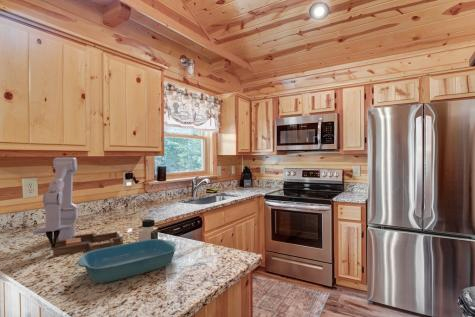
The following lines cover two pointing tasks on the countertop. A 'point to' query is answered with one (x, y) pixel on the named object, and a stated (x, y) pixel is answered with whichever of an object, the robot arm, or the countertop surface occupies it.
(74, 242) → the block
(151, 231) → the medicine bottle
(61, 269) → the countertop surface
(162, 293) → the countertop surface
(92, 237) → the trap lane
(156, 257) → the casserole dish
